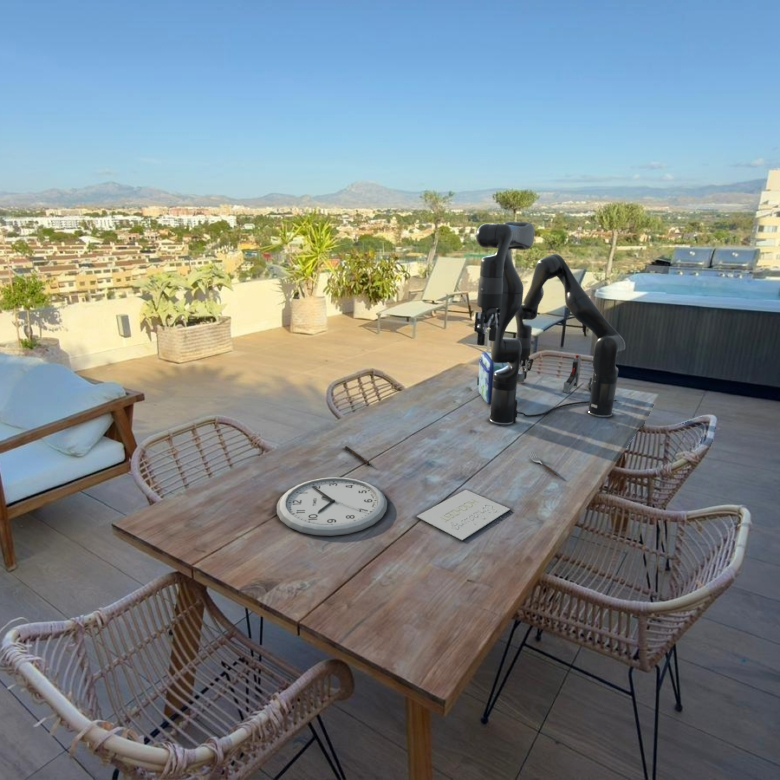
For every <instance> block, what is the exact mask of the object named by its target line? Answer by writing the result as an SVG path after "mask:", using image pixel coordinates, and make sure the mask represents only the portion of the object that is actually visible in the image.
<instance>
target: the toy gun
mask: <svg viewBox="0 0 780 780" xmlns="http://www.w3.org/2000/svg"><path fill="white" fill-rule="evenodd" d="M581 357H582V356H581V354H575V355H574V357H573V361H572V367H571V372H570V374H569V376H568V378H567V380H566V381H565V382H564V383H563V388H562V391H563V393H565V394H569V393H570V392H571V390H573V387H574V388H577V387H578V385H579V379H580V375H581V374H580V373H581V364H582V363H581V362H582V358H581Z"/></svg>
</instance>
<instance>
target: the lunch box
mask: <svg viewBox="0 0 780 780" xmlns="http://www.w3.org/2000/svg"><path fill="white" fill-rule="evenodd" d="M507 365H508V363H494V362H493V361H492V358H491V351H482V352H481V354H480V358H479V360H478V377H477V381H476V384H477V385H476V386H478V393H479V395H480V396H481V397H482V399H483V400H484V402H485V404H487V405H488V406H489V405H490V406H491V398H492V385H493V374H494V372H495V371H497V370H499V369H502V368H504V367H506V366H507Z"/></svg>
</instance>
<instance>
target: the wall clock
mask: <svg viewBox="0 0 780 780" xmlns="http://www.w3.org/2000/svg"><path fill="white" fill-rule="evenodd" d="M387 509H388V500H387V498H386V496H385V494H384V493H383V492H382V491H381V490H380V489H379V488H377V487H376V486H374V485H372V484H371V483H369V482H365V481H362V480H359V479H355V478H349V477H338V476H337V477H335V476H333V477H332V476H331V477H322V478H317V479H312V480H307V481H305V482H302V483H299V484H297V485H295V486H293V487H292V488H290V489H288V490H287V491H286V492H285V493H284V494H283V495H281V496H280V498H279V499H278V502H277V503H276V515H277V517H278V518H279V520H280V521H281V522H282V523H283V524H285V525H286V526H287V527H288V528H290V529H293V530H295V531H297V532H299V533H303V534H308V535H312V536H327V537H328V536H329V537H331V536H332V537H333V536H342V535H350V534H352V533H356V532H361V531H363V530H366V529H368V528H369V527H372V526H373V525H375V524H376V523H378V522H379V521H380V520H381V519H382V518H383V517H384V516H385V514H386V512H387Z"/></svg>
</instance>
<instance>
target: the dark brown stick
mask: <svg viewBox="0 0 780 780" xmlns="http://www.w3.org/2000/svg"><path fill="white" fill-rule="evenodd" d="M344 449H345V450H346V451H348V452H349V453H350V454H352V455H353V456H355V457H356V458H358V459H359V460H361V461H362V462H363V463H364V464H366V465H370V461H368V460H367V459H366V458H364V457H363V456H361V455H360V454H358V453H357V452H356V451H354V450H353V449H352V448H350V447H348V446H347V445H345V446H344Z"/></svg>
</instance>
